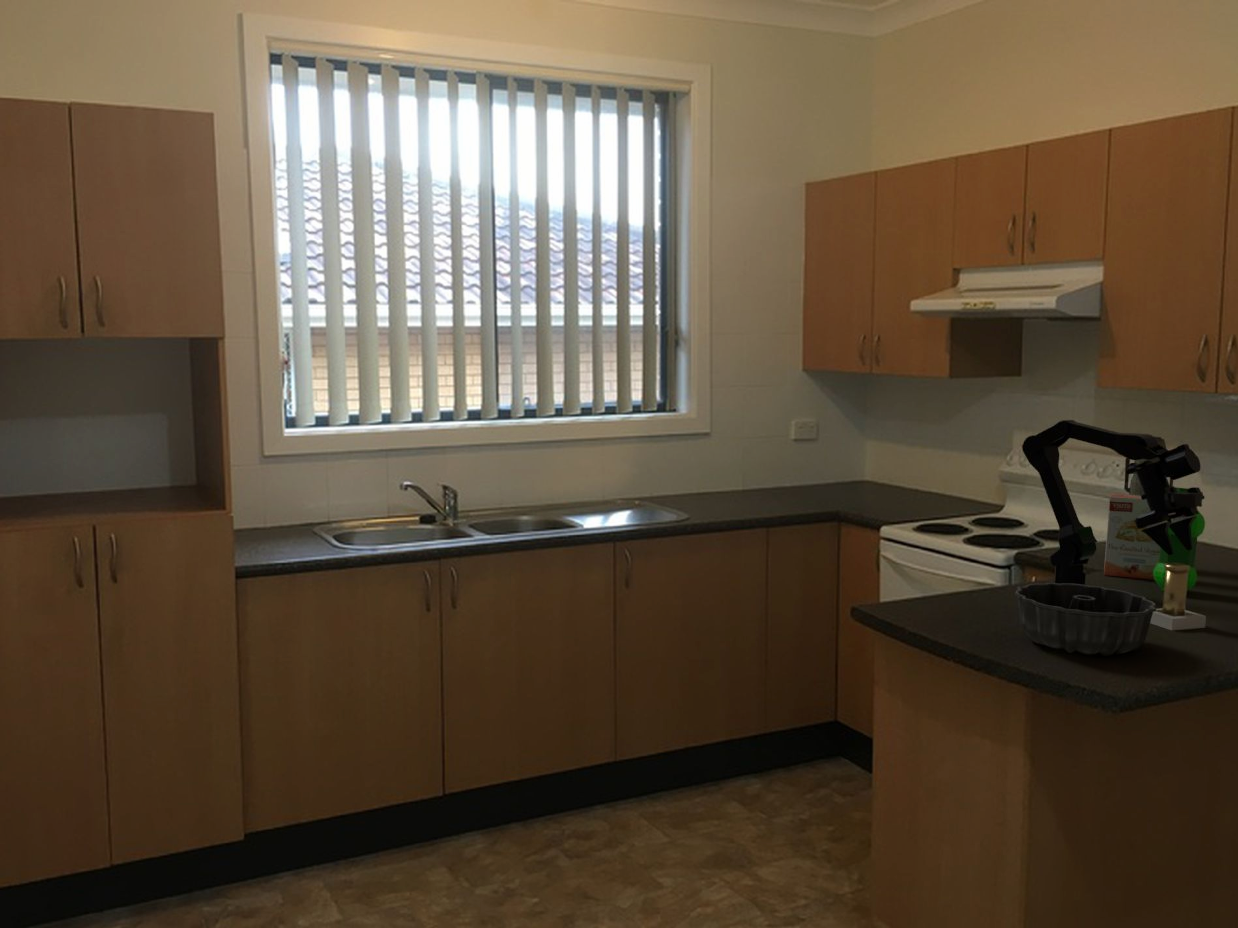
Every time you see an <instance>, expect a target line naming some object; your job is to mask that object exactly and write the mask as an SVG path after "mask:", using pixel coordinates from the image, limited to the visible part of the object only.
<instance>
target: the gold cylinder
mask: <svg viewBox="0 0 1238 928" xmlns="http://www.w3.org/2000/svg"><path fill="white" fill-rule="evenodd" d="M1164 568H1165V569H1166V571H1165V584H1164V590H1163V599H1162V600H1163V601H1162V608H1163V611H1162V613H1163V614H1167V615H1170V616H1173V617H1174V616H1185V610H1186V603H1187V593H1188V590H1187V580H1188V571H1189V570H1190V566H1189V565H1187V564H1182V563H1165V564H1164Z"/></svg>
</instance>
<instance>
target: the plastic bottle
mask: <svg viewBox="0 0 1238 928" xmlns="http://www.w3.org/2000/svg"><path fill="white" fill-rule="evenodd" d="M1174 487H1175V486H1174ZM1175 488H1176V490H1177V492H1187V491H1188V489H1189V488H1186V487H1175ZM1198 512H1199V514H1197V515H1193V516H1191V517H1194V516H1197V518H1196V519H1195V520H1194V522H1193V523H1192V526H1191V533H1192V550H1189V551H1188V550H1186V548H1185V547H1184V546H1183V545H1182V543H1181V542H1180V541H1179V539H1178V538H1177V537H1176V535H1175V534H1174V533H1173V531H1172V530H1171V529H1170V527H1169V529H1168V532H1169V536H1170V540H1171V543H1172V547H1173V553H1174V554H1172V555H1168V554H1167V553H1166V552H1165V551H1164V550H1163V549H1162V548H1161V547H1160V555H1159V562H1158V563H1157V565H1156V566H1155V568H1154V570H1153V576H1154V580H1153V581H1155V583H1156V584H1157V585H1158V587H1160V589H1161V590H1162V591H1164V584H1165V571H1166V569H1165V568H1164V564H1165V563H1182V564H1187V565H1189V566H1190V570H1189V571H1188V580H1187V591H1189V590H1191V589H1192V588H1193V587H1194V586H1195V585H1196V583H1197V581H1198V574H1197V570H1196V568H1195V561H1196V560H1195V559H1196V551H1197V542H1198V538H1199V537H1200V536H1201V535H1202V534H1203V532H1204V530H1205V527H1206V526H1205V525H1206V521H1205V517H1204V515H1203V514H1202V513H1201V512H1200V511H1199V510H1198ZM1166 522H1168V521H1166ZM1171 523H1172V522H1171Z"/></svg>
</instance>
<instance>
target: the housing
mask: <svg viewBox="0 0 1238 928" xmlns="http://www.w3.org/2000/svg"><path fill="white" fill-rule="evenodd" d="M1162 611H1163V607H1162V608H1161V607H1160V608H1156V611H1155V612H1153V614H1152V618H1151V621H1150V624H1152V625H1154V626H1157V627H1161V628H1163V629H1166V630H1168V631H1169V630H1170V631H1181V630H1192V629H1194V630H1195V629H1201V628H1202V629H1205V628H1206V621H1207V616H1206V615H1204V614H1201V613H1197V612H1193V611H1190V610H1188V609H1185V616H1174V617H1173V616H1170V615H1167V614H1163V613H1162Z"/></svg>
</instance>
